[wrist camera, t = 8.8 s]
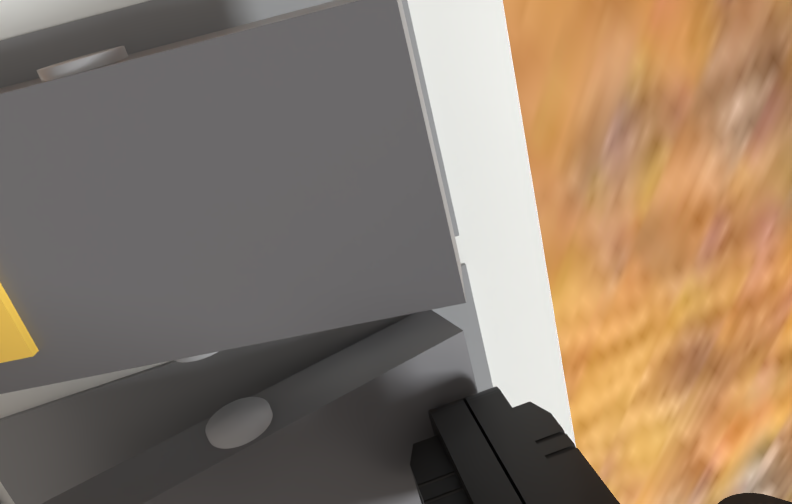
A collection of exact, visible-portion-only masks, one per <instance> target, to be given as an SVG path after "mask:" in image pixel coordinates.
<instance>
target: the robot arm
mask: <svg viewBox="0 0 792 504" xmlns="http://www.w3.org/2000/svg"><path fill="white" fill-rule="evenodd" d="M428 413H429V418H430V421H431V425H432V429H433V432H434V436H433V437H431V438H428V439H425V440H422V441H420V442H417V443H414V444H413V448H412V454H411V461H410V467H411V470H412V474H413V477H414V480H415V484H416V487H417V490H418V494H419V497H420V500H421V504H620V503H619V502H618V501H617V500H616V498H615V497H614V496H613V494H612V493H611V492H610V490H609V489H608V488H607V486H606V485H605V484H604V482H603V481H602V480H601V478H600V477H599V476H598V475H597V473H596V472H595V471H594V469H593V468H592V467H591V465H590V464H589V463H588V461H587V460H586V459H585V457H584V456H583V455H582V453H581V452H580V451H579V449H578V448H576V447H575V444H574V443H573V442H572V440H571V439H570V438H569V436H568V435H567V434H565V432H564V430H563V428H562V427H561V426H560V424H559V423H558V422H557V420H556V419H555V418H554V417H553V415H552V414H551V413H550V412H548V411H546V410H545V409H543V408H541V407H539V406H537V405H536V404H534V403H532V402H527V403H524V404H521V405H519V406H516V407H513V408H512V406H511V405H510V404H509V402H508V401H507V399H506V398H505V396H504V395H503V393H502V392H501V390H500V389H499V388H498V387H497V386H495V387H493V388H490V389H487V390H484V391H481V392H479V393H476V394H473V395H470V396H467V397H465V398H463V400H462V399H459V400H457V401H454V402H451V403H448V404H445V405H443V406H440V407H437V408H434V409H431V410H429V411H428ZM718 504H792V502H789V501H785V500H782V499H778V498H775V497H772V496H768V495H764V494H757V493H742V494H736V495H732V496H729V497H727V498H725V499H723V500H722V501H720V502H719V503H718Z"/></svg>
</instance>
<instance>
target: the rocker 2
mask: <svg viewBox="0 0 792 504" xmlns="http://www.w3.org/2000/svg"><path fill="white" fill-rule="evenodd" d="M476 393H478V390H477V386H476V382H475V378H474V373H473V369H472V365H471V361H470V356H469V352H468V348H467V344H466V339H465V335H464V331H463V330H462V329H460V328H459V327H457V326H456V325H454V324H453V323H451V322H449V321H448V320H446V319H445V318H443V317H442V316H440V315H439V314H437V313H436V312H434V311H433V310H427V311H422V312H417V313H414V314H412V315H410V316H408V317H406V318H404V319H402V320H400V321H398V322H396V323H394V324H392V325H390V326H388V327H386V328H384V329H382V330H380V331H378V332H376V333H375V334H373V335H371V336H369V337H367V338H365V339H363V340H361V341H359V342H357V343H355V344H353V345H351V346H349V347H347V348H345V349H343V350H341V351H339V352H337V353H335V354H333V355H331V356H329V357H328V358H326V359H324V360H322V361H320V362H318V363H316V364H314V365H312V366H310V367H308V368H306V369H304V370H302V371H300V372H298V373H296V374H294V375H292V376H290V377H288V378H286V379H284V380H282V381H281V382H279V383H277V384H275V385H273V386H271V387H269V388H267V389H265V390H263V391H261V392H259V393H257V394H255V395H253V396H251V397H246V398H242V399H238V400H235V401H233V402H231V403H229V404H227V405H225V406H224V407H222V408H221V409H219V410H218V411H217V412H216V413H215V414H214V415H213V416H212V417H210V418H208V419H206V420H204V421H202V422H200V423H198V424H196V425H194V426H192V427H190V428H188V429H186V430H185V431H183V432H181V433H179V434H177V435H175V436H173V437H171V438H169V439H167V440H165V441H163V442H161V443H159V444H157V445H155V446H153V447H151V448H149V449H147V450H145V451H143V452H141V453H139V454H138V455H136V456H134V457H132V458H130V459H128V460H126V461H124V462H122V463H120V464H118V465H116V466H114V467H112V468H110V469H108V470H106V471H104V472H102V473H100V474H98V475H96V476H94V477H92V478H91V479H89V480H87V481H85V482H83V483H81V484H79V485H77V486H75V487H73V488H71V489H69V490H67V491H65V492H63V493H61V494H59V495H57V496H55V497H53V498H51V499H49V500H47V501H45V502H44V503H42V504H421V500H420V497H419V494H418V490H417V487H416V484H415V480H414V477H413V474H412V470H411V467H410V461H411V454H412V448H413V444H414V443H417V442H420V441H422V440H425V439H428V438H431V437H433V436H434V432H433V429H432V425H431V421H430V418H429V413H428V411H429V410H431V409H434V408H437V407H440V406H443V405H445V404H448V403H451V402H454V401H457V400H459V399H462V400H463V398H465V397H467V396H470V395H473V394H476Z"/></svg>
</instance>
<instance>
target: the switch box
mask: <svg viewBox="0 0 792 504" xmlns="http://www.w3.org/2000/svg"><path fill="white" fill-rule="evenodd" d="M331 1H335V0H0V88H3V87H7V86H11V85H14V84H18V83H22V82H26V81H30V80H34V79H37V78H40V77H39V75H38V73H37V71H36V70H38V69H41V68H44V67H47V66H50V65H53V64H57V63H60V62H63V61H67V60H70V59H74V58H77V57H81V56H84V55H88V54H91V53H95V52H99V51H103V50H106V49H110V48H115V47H119V46H124V47H125V49H126V52H127V54H128V55H129V54H133V53H136V52H140V51H144V50H148V49H152V48H156V47H159V46H163V45H167V44H171V43H175V42H178V41H182V40H186V39H190V38H194V37H198V36H201V35H205V34H209V33H213V32H217V31H220V30H224V29H228V28H232V27H236V26H239V25H243V24H247V23H251V22H255V21H259V20H262V19H266V18H270V17H274V16H278V15H281V14H285V13H289V12H293V11H297V10H301V9H304V8H308V7H312V6H316V5H320V4H323V3H327V2H331ZM402 5H403V9H404V14H405V18H406V23H407V27H408V31H409V36H410V40H411V45H412V49H413V54H414V58H415V62H416V67H417V71H418V76H419V80H420V85H421V89H422V94H423V98H424V102H425V107H426V111H427V116H428V120H429V125H430V129H431V133H432V138H433V142H434V147H435V151H436V156H437V160H438V164H439V169H440V173H441V178H442V182H443V187H444V191H445V195H446V200H447V204H448V209H449V213H450V218H451V222H452V227H453V231H454V235H455V240H456V244H457V249H458V253H459V258H460V262H461V269H462V277H463V284H464V291H465V299H466V303H463V304H458V305H453V306H448V307H443V308H438V309H433V311H434V312H436V313H437V314H439V315H440V316H442V317H443V318H445V319H446V320H448V321H449V322H451V323H453V324H454V325H456V326H457V327H459V328H460V329H462V330H463V331H464V335H465V339H466V344H467V348H468V352H469V356H470V361H471V365H472V369H473V373H474V378H475V382H476V386H477V390H478V393H479V392H481V391H484V390H487V389H490V388H493V387H495V386H497V387H498V388H499V389H500V390H501V392H502V393H503V395H504V396H505V398H506V399H507V401H508V402H509V404H510V405H511V406H512V408H513V407H516V406H519V405H521V404H524V403H527V402H532V403H534V404H536V405H537V406H539V407H541V408H543V409H545V410H546V411H548V412H550V413H551V414H552V415H553V417H554V418H555V419H556V420H557V422H558V423H559V424H560V426H561V427H562V428H563V430H564V432H565V434H567V435H568V436H569V438H570V439H571V440H572V442H573V443H574V444H575V438H574V432H573V426H572V420H571V414H570V408H569V402H568V396H567V390H566V383H565V377H564V371H563V365H562V359H561V353H560V347H559V341H558V335H557V329H556V323H555V317H554V310H553V304H552V298H551V292H550V286H549V280H548V274H547V268H546V262H545V256H544V250H543V244H542V237H541V231H540V225H539V219H538V213H537V207H536V201H535V195H534V189H533V183H532V177H531V171H530V164H529V158H528V152H527V146H526V140H525V134H524V128H523V122H522V116H521V110H520V104H519V98H518V91H517V85H516V79H515V73H514V67H513V61H512V55H511V49H510V43H509V37H508V31H507V25H506V18H505V12H504V6H503V0H402ZM412 314H414V313H412ZM412 314H407V315H402V316H397V317H392V318H387V319H381V320H376V321H371V322H366V323H361V324H356V325H351V326H346V327H341V328H336V329H330V330H325V331H320V332H315V333H310V334H305V335H300V336H295V337H290V338H285V339H279V340H274V341H269V342H264V343H259V344H254V345H249V346H244V347H239V348H234V349H228V350H223V351H219V352H217V353H215V354H213V355H211V356H209V357H207V358H204V359H201V360H197V361H193V362H176V361H174V360H172V361H167V362H162V363H157V364H152V365H147V366H142V367H137V368H131V369H126V370H121V371H116V372H111V373H106V374H101V375H96V376H91V377H86V378H80V379H75V380H70V381H65V382H60V383H55V384H50V385H45V386H40V387H35V388H29V389H24V390H19V391H14V392H9V393H4V394H0V504H42V503H44V502H45V501H47V500H49V499H51V498H53V497H55V496H57V495H59V494H61V493H63V492H65V491H67V490H69V489H71V488H73V487H75V486H77V485H79V484H81V483H83V482H85V481H87V480H89V479H91V478H92V477H94V476H96V475H98V474H100V473H102V472H104V471H106V470H108V469H110V468H112V467H114V466H116V465H118V464H120V463H122V462H124V461H126V460H128V459H130V458H132V457H134V456H136V455H138V454H139V453H141V452H143V451H145V450H147V449H149V448H151V447H153V446H155V445H157V444H159V443H161V442H163V441H165V440H167V439H169V438H171V437H173V436H175V435H177V434H179V433H181V432H183V431H185V430H186V429H188V428H190V427H192V426H194V425H196V424H198V423H200V422H202V421H204V420H206V419H208V418H210V417H212V416H213V415H214V414H215V413H216V412H217V411H218V410H219V409H221V408H222V407H224V406H225V405H227V404H229V403H231V402H233V401H235V400H238V399H242V398H246V397H251V396H253V395H255V394H257V393H259V392H261V391H263V390H265V389H267V388H269V387H271V386H273V385H275V384H277V383H279V382H281V381H282V380H284V379H286V378H288V377H290V376H292V375H294V374H296V373H298V372H300V371H302V370H304V369H306V368H308V367H310V366H312V365H314V364H316V363H318V362H320V361H322V360H324V359H326V358H328V357H329V356H331V355H333V354H335V353H337V352H339V351H341V350H343V349H345V348H347V347H349V346H351V345H353V344H355V343H357V342H359V341H361V340H363V339H365V338H367V337H369V336H371V335H373V334H375V333H376V332H378V331H380V330H382V329H384V328H386V327H388V326H390V325H392V324H394V323H396V322H398V321H400V320H402V319H404V318H406V317H408V316H410V315H412ZM575 447H576V444H575Z"/></svg>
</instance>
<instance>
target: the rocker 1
mask: <svg viewBox="0 0 792 504" xmlns="http://www.w3.org/2000/svg"><path fill="white" fill-rule="evenodd" d="M36 71H37V73H38V75H39V77H40V78H37V79H34V80H30V81H26V82H22V83H18V84H14V85H11V86H7V87H3V88H0V394H4V393H9V392H14V391H19V390H24V389H29V388H35V387H40V386H45V385H50V384H55V383H60V382H65V381H70V380H75V379H80V378H86V377H91V376H96V375H101V374H106V373H111V372H116V371H121V370H126V369H131V368H137V367H142V366H147V365H152V364H157V363H162V362H167V361H172V360H174V361H176V362H193V361H197V360H201V359H204V358H207V357H209V356H211V355H213V354H215V353H217V352H219V351H223V350H228V349H234V348H239V347H244V346H249V345H254V344H259V343H264V342H269V341H274V340H279V339H285V338H290V337H295V336H300V335H305V334H310V333H315V332H320V331H325V330H330V329H336V328H341V327H346V326H351V325H356V324H361V323H366V322H371V321H376V320H381V319H387V318H392V317H397V316H402V315H407V314H412V313H417V312H422V311H427V310H433V309H438V308H443V307H448V306H453V305H458V304H463V303H466V299H465V291H464V284H463V277H462V269H461V262H460V258H459V253H458V249H457V244H456V240H455V235H454V231H453V227H452V222H451V218H450V213H449V209H448V204H447V200H446V195H445V191H444V187H443V182H442V178H441V173H440V169H439V164H438V160H437V156H436V151H435V147H434V142H433V138H432V133H431V129H430V125H429V120H428V116H427V111H426V107H425V102H424V98H423V94H422V89H421V85H420V80H419V76H418V71H417V67H416V62H415V58H414V54H413V49H412V45H411V40H410V36H409V31H408V27H407V23H406V18H405V14H404V9H403V5H402V0H335V1H331V2H327V3H323V4H320V5H316V6H312V7H308V8H304V9H301V10H297V11H293V12H289V13H285V14H281V15H278V16H274V17H270V18H266V19H262V20H259V21H255V22H251V23H247V24H243V25H239V26H236V27H232V28H228V29H224V30H220V31H217V32H213V33H209V34H205V35H201V36H198V37H194V38H190V39H186V40H182V41H178V42H175V43H171V44H167V45H163V46H159V47H156V48H152V49H148V50H144V51H140V52H136V53H133V54H129V55H128V54H127V52H126V49H125V47H124V46H119V47H115V48H110V49H106V50H103V51H99V52H95V53H91V54H88V55H84V56H81V57H77V58H74V59H70V60H67V61H63V62H60V63H57V64H53V65H50V66H47V67H44V68H41V69H38V70H36Z"/></svg>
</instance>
